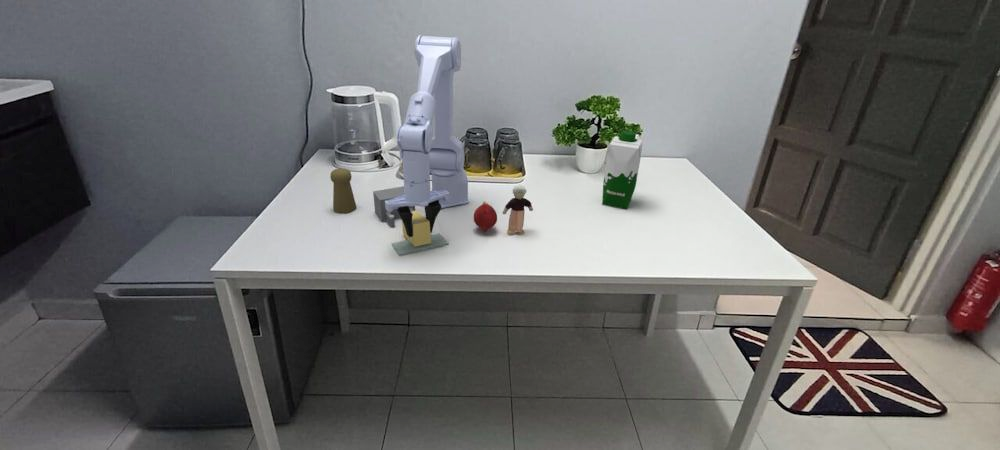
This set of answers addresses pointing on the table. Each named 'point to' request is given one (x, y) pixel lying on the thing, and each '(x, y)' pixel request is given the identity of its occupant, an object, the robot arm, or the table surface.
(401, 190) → the grey boxy piece
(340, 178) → the cork
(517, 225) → the grandmother figurine
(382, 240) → the table surface
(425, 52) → the robot arm
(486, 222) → the onion
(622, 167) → the milk carton
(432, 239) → the mat
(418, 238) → the tall tan block
